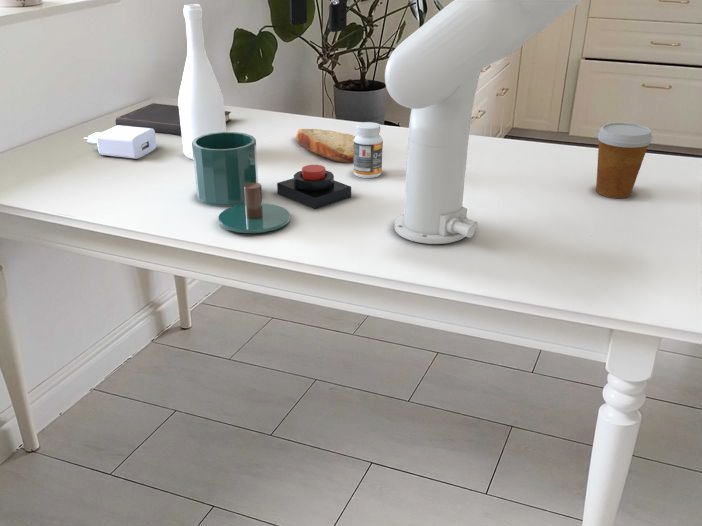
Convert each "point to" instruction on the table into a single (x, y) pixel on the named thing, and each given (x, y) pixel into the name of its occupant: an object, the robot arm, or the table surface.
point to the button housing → (314, 190)
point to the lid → (253, 213)
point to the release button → (313, 172)
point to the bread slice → (328, 144)
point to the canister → (224, 167)
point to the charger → (124, 141)
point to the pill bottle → (368, 150)
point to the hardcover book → (156, 118)
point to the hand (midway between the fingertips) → (317, 27)
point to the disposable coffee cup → (620, 157)
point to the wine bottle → (198, 87)
